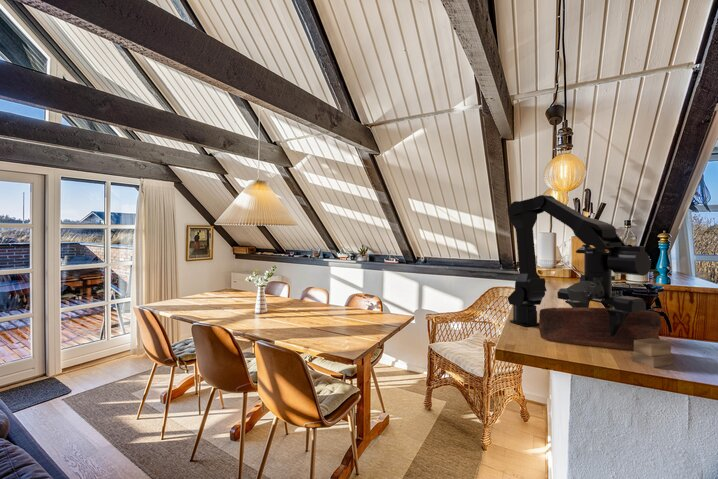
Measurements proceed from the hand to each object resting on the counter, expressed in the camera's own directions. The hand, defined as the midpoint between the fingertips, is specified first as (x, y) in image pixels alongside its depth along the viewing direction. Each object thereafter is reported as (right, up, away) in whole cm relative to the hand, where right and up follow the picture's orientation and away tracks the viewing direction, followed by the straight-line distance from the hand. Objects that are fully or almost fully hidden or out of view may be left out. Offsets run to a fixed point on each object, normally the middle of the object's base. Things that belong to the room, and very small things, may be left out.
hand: (597, 332), depth 85 cm
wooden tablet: (0, -4, 0) cm, 4 cm away
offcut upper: (+4, -1, -11) cm, 12 cm away
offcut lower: (+4, -4, -11) cm, 13 cm away
